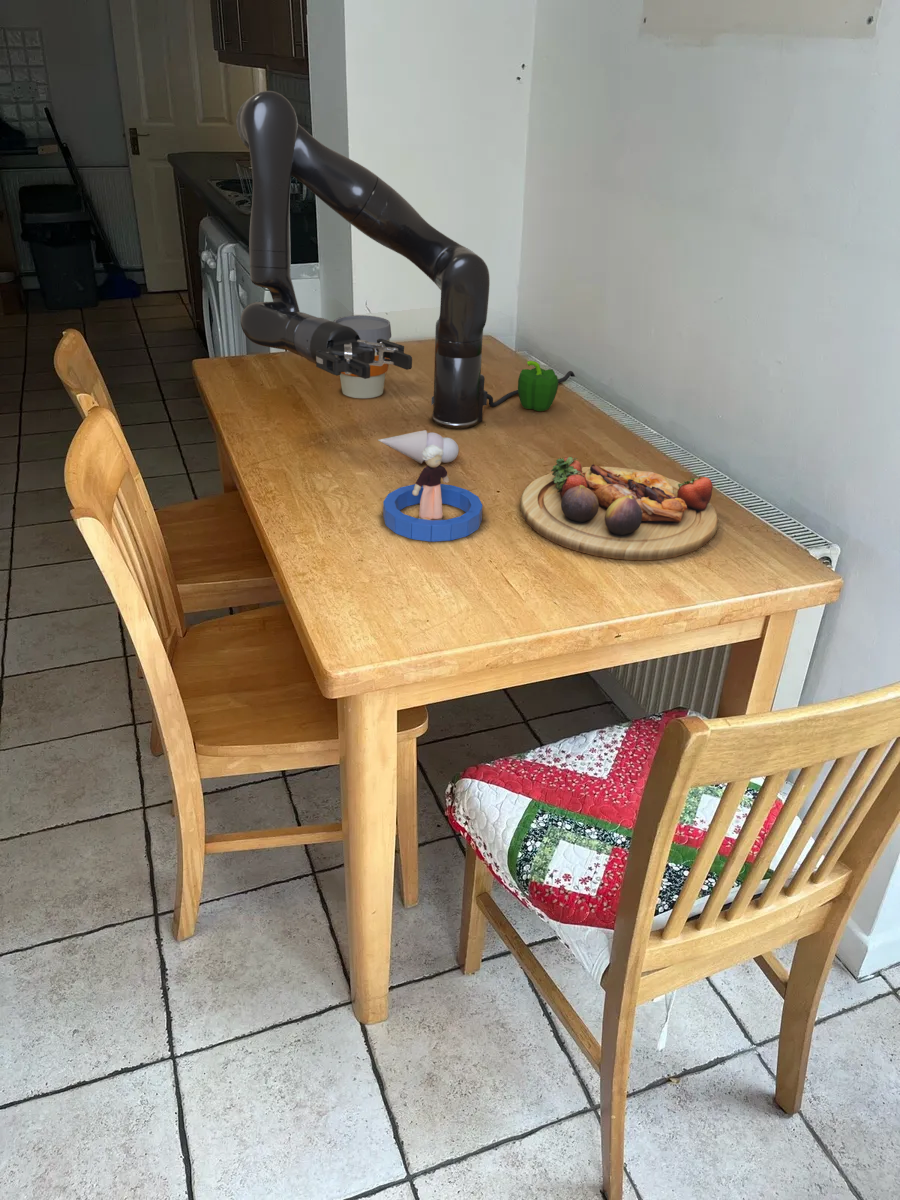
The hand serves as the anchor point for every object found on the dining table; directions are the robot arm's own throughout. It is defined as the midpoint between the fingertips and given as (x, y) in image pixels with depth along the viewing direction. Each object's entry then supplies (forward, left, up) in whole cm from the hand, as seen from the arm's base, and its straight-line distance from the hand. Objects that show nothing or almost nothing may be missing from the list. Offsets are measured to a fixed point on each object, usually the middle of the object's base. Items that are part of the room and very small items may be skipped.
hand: (389, 367), depth 142 cm
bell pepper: (-50, -24, -22) cm, 60 cm away
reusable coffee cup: (-22, -50, -22) cm, 59 cm away
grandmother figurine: (-2, +11, -22) cm, 25 cm away
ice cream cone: (-12, -10, -22) cm, 27 cm away
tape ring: (-2, +11, -22) cm, 25 cm away
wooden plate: (-29, +25, -22) cm, 44 cm away
